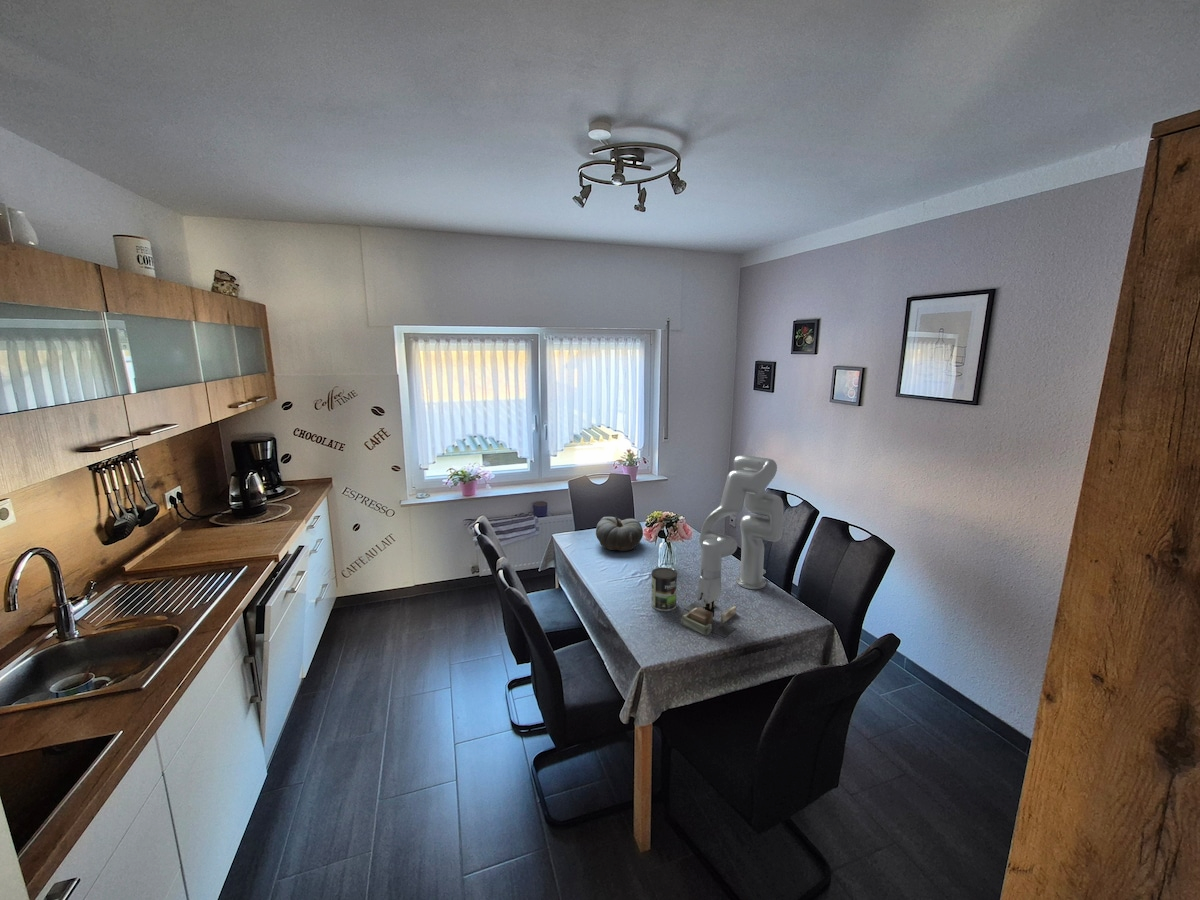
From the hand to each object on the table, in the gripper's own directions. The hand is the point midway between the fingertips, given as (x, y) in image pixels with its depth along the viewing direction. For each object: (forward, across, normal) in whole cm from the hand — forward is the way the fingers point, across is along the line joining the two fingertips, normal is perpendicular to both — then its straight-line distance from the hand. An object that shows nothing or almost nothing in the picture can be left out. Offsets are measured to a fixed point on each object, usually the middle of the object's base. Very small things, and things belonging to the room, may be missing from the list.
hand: (709, 616), depth 184 cm
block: (+1, +6, 0) cm, 6 cm away
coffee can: (+1, +4, -19) cm, 19 cm away
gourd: (+1, -28, -74) cm, 79 cm away
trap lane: (+1, 0, 0) cm, 1 cm away
